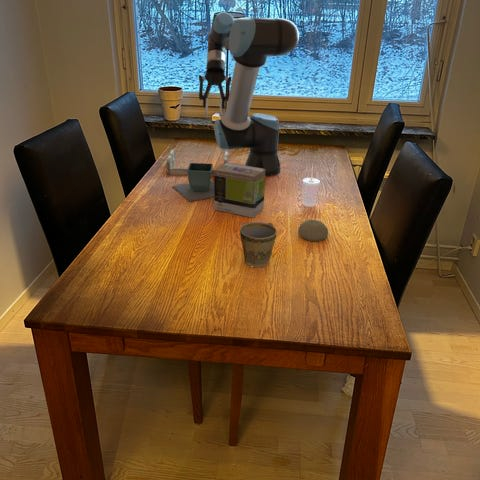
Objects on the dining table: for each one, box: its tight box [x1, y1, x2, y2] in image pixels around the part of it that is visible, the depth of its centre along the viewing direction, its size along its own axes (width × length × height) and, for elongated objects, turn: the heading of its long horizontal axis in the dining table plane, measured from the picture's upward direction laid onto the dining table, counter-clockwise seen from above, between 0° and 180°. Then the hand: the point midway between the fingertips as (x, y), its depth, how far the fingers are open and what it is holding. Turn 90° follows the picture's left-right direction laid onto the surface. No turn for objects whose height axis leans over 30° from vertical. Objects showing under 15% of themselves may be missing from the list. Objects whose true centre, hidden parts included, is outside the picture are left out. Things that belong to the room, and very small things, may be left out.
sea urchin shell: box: [297, 219, 329, 242], centre depth 144 cm, size 9×8×8 cm
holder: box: [166, 148, 229, 177], centre depth 196 cm, size 16×24×6 cm, turn 89°
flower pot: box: [187, 162, 214, 192], centre depth 173 cm, size 9×9×9 cm
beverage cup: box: [301, 166, 321, 207], centre depth 164 cm, size 6×6×14 cm
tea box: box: [213, 162, 266, 219], centre depth 158 cm, size 15×10×15 cm
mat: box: [171, 180, 214, 203], centre depth 175 cm, size 16×16×1 cm
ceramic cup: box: [239, 221, 278, 268], centre depth 129 cm, size 13×10×10 cm
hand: (213, 114), depth 185 cm, fingers open, 5 cm apart
